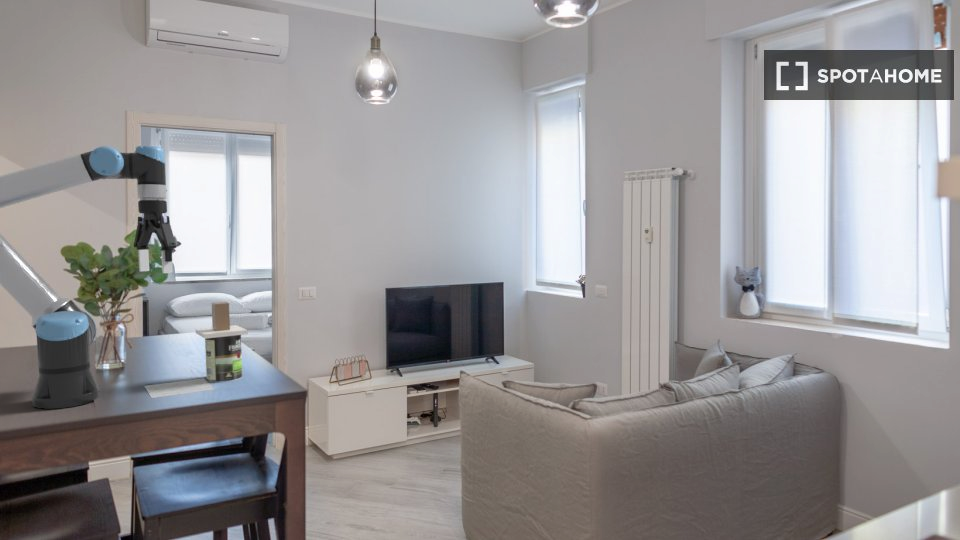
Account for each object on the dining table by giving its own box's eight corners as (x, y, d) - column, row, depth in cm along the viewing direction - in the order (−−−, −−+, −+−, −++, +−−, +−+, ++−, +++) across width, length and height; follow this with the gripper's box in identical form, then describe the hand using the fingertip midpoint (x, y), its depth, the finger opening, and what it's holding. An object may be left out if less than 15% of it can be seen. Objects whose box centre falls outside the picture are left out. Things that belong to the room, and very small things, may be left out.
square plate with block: (204, 338, 190) (203, 306, 189) (195, 333, 200) (194, 302, 199) (247, 334, 197) (246, 303, 196) (236, 328, 206) (235, 299, 206)
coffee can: (249, 376, 203) (247, 330, 202) (230, 384, 193) (228, 336, 192) (219, 375, 205) (217, 330, 204) (198, 383, 195) (196, 336, 194)
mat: (151, 400, 177) (151, 398, 177) (144, 388, 190) (144, 385, 190) (215, 391, 185) (214, 389, 185) (203, 380, 199) (203, 378, 199)
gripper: (187, 198, 189) (190, 272, 191) (144, 201, 204) (147, 269, 206) (161, 198, 183) (164, 274, 185) (119, 200, 198) (122, 271, 200)
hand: (155, 272), depth 196 cm, fingers open, 13 cm apart
